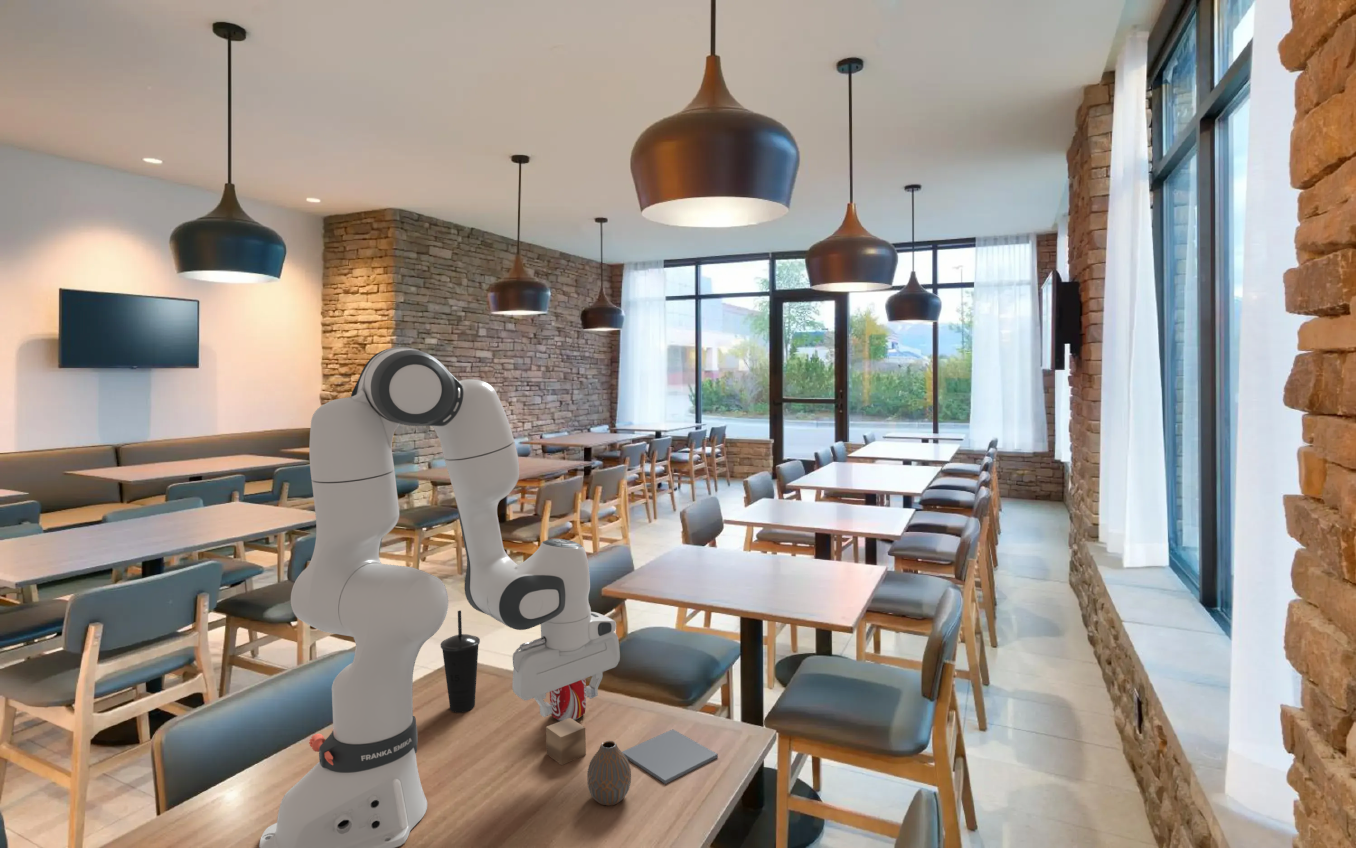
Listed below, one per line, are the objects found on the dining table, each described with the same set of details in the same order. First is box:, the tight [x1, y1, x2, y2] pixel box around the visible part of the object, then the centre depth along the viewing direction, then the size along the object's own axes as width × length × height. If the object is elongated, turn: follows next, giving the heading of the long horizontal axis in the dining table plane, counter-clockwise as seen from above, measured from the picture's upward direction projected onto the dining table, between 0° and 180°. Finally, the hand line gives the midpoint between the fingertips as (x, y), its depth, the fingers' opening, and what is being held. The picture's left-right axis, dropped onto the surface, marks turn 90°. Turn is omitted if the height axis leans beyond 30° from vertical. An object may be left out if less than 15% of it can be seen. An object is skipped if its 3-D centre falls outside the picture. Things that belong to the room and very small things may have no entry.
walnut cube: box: [545, 718, 587, 766], centre depth 122 cm, size 5×5×5 cm
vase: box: [586, 740, 632, 806], centre depth 109 cm, size 7×7×9 cm
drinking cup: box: [440, 610, 481, 714], centre depth 141 cm, size 8×8×20 cm
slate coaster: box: [621, 728, 719, 785], centre depth 121 cm, size 12×12×1 cm
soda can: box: [549, 678, 587, 722], centre depth 137 cm, size 7×7×12 cm
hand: (569, 705), depth 123 cm, fingers open, 8 cm apart
